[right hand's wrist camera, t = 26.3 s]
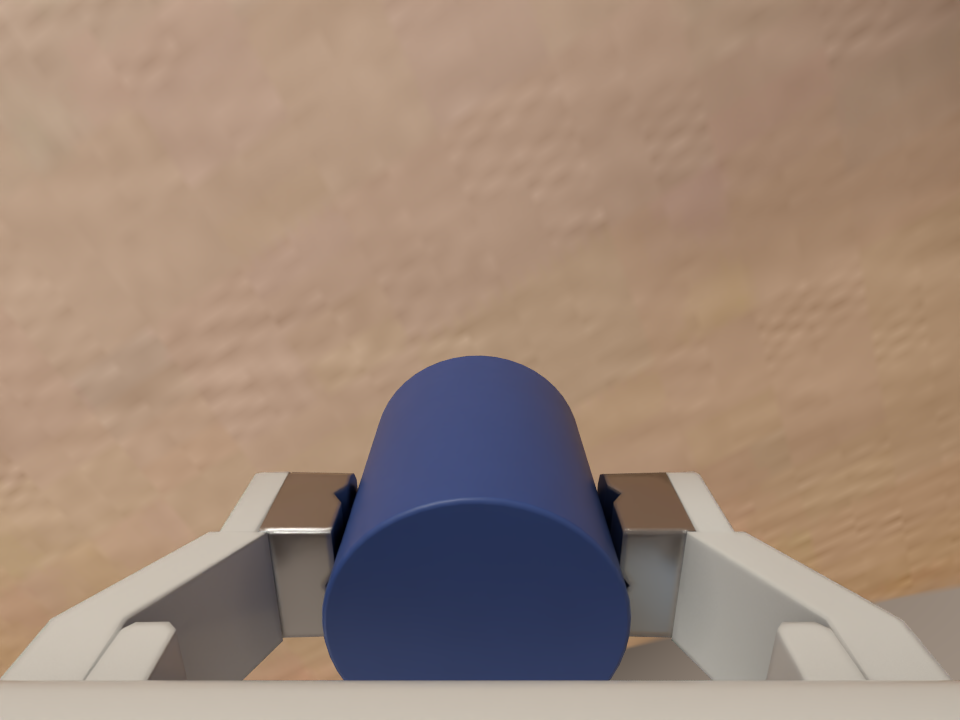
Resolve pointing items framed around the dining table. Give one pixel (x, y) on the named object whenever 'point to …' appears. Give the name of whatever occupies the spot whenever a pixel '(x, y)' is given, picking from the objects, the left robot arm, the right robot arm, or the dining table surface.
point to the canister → (476, 539)
